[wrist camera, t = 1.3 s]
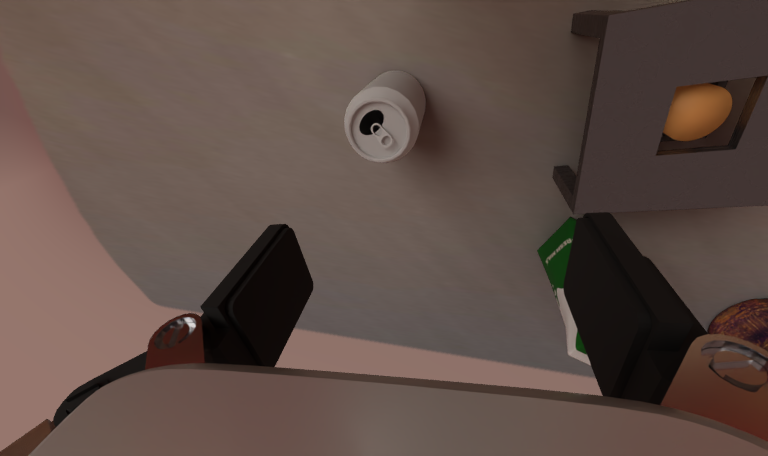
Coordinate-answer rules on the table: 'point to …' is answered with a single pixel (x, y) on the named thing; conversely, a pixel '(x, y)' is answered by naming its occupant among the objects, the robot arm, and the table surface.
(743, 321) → the brown rounded piece
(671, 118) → the orange-brown round lump
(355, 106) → the can
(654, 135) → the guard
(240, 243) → the table surface
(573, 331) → the milk carton
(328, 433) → the robot arm
